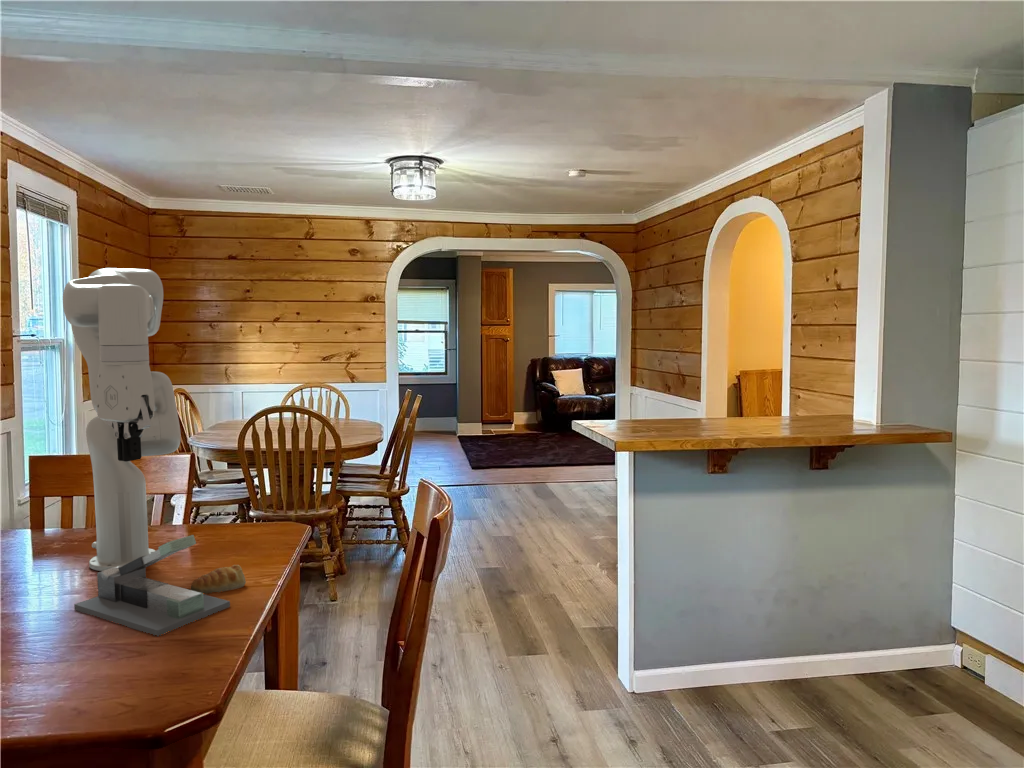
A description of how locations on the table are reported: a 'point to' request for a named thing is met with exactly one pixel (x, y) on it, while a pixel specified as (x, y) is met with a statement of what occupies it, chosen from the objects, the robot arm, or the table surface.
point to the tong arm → (158, 554)
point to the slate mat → (146, 614)
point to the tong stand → (148, 593)
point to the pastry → (220, 580)
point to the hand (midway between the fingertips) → (129, 459)
